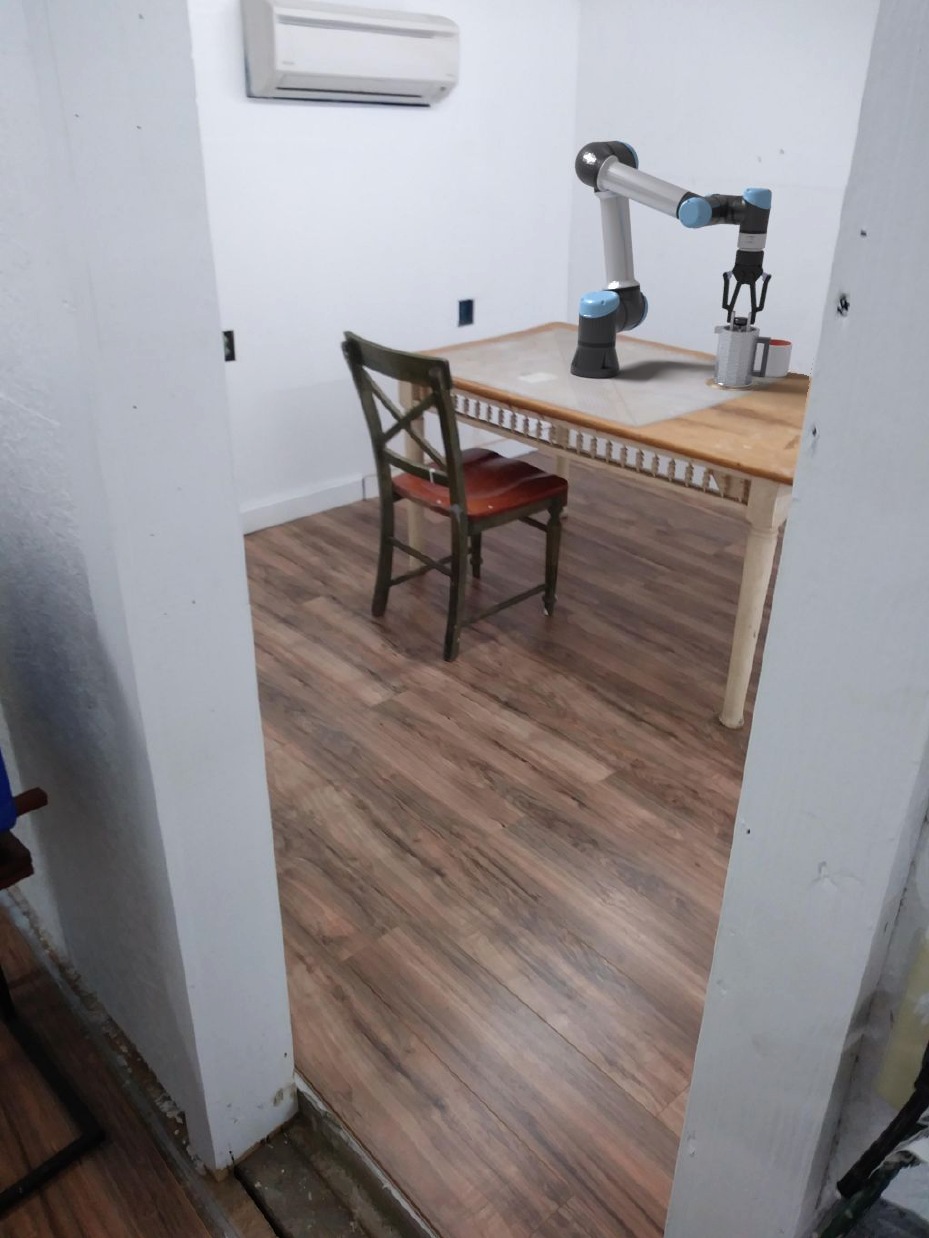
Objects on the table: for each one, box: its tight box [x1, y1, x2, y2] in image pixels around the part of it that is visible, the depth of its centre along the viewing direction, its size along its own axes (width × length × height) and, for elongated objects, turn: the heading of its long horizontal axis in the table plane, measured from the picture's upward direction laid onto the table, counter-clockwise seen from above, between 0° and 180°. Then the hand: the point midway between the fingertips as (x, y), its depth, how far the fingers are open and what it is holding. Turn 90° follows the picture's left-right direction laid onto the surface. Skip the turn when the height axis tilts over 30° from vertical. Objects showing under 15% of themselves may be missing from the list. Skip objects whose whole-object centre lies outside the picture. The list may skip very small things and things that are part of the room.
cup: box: [754, 338, 793, 378], centre depth 294 cm, size 10×10×10 cm
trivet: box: [704, 377, 761, 392], centre depth 284 cm, size 16×16×1 cm
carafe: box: [712, 324, 772, 389], centre depth 280 cm, size 16×11×16 cm
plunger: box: [733, 316, 748, 332], centre depth 277 cm, size 8×8×11 cm
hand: (739, 335), depth 277 cm, fingers closed on plunger, 4 cm apart
